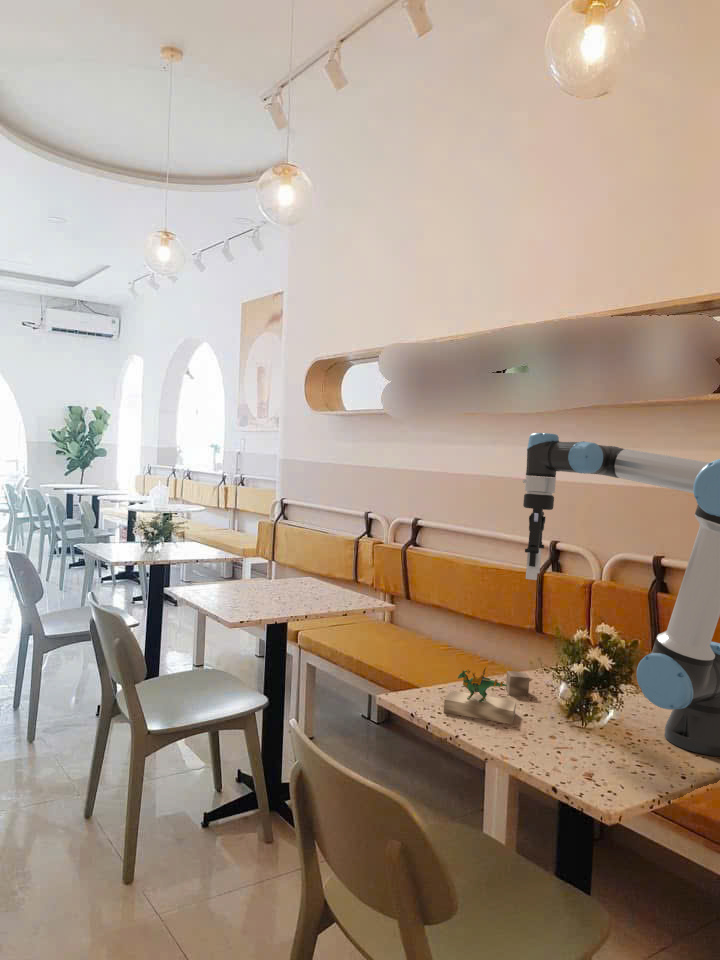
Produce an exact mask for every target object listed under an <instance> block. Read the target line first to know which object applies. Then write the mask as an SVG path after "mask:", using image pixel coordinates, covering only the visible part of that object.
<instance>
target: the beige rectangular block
mask: <svg viewBox="0 0 720 960" xmlns="http://www.w3.org/2000/svg"><path fill="white" fill-rule="evenodd" d="M470 694H471V692H464V691H458V690H453V689H452V690H449V691H448V694H447V695H446V696H445V698H444V701H443V702H444V703H443V713H447V714H450V715H457V716H463V717H468V718H475V719H481V720H487V721H492V722H499V723H503V724H508V725H513V723H514V719H515V716H516V710H517V709H516V707H517V700H512V699H506V698H501V697H496V696H494V697H493V696H489V695H487V696H486V697H485V699H486V700H485V699H484V701H485V702H483V701H482V702H479V700H481V698H482V697H483V696H482V695H480V694H475V693H474V694H473V695H472V697H471V698H470V699H467V698H469V697H468V696H470Z"/></svg>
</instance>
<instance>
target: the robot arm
mask: <svg viewBox="0 0 720 960" xmlns="http://www.w3.org/2000/svg"><path fill="white" fill-rule="evenodd" d="M559 439H560V437H559V435H558V434H556V433H549V432H548V433H544V432H533V433H531V434H529V438H528V443H527V448H526V469H525V470H526V471H525V479H523V480H522V483H523V484H524V491H525V492H526V493H524V495H523V506H522V507H523V508H525V509H532V512H531V514H530V515H529V516H528V523H529V524H528V531H529V533H528V534H529V535H528V544H527V548H524V553H527V555H526V556H527V557H526V570H525V580H532V581H537V580H538V574H540V573H541V572H540V571H541V561H542V560H541V559H542V558H541V557H542V549H545V544H543V531H544V530H545V524H546V516H544V515H545V513H544V510H546V511H551V510H553V509H554V505H555V504H554V502H555V497H554V495H553V494H554V493H556V482H557V472H564V473H565V472H566V473H576V474H585V475H586V474H587V475H589V474H590V475H599V476H606V477H611V478H615V479H623V480H628V481H632V482H636V483H642V484H647V485H652V486H658V487H661V488H664V489H665V488H666V489H670V490H676V491H681V492H686V493H689V494H693V497H694V498H695V500H696V503H697V506H696V509H695V513H694V517H695V519H696V520H697V522H698V524H699V527H698V531H697V534H696V537H695V539H694V542H693V546H692V549H691V552H690V556H689V558H688V561H687V566H686V568H685V572H684V575H683V578H682V581H681V583H680V587H679V590H678V593H677V597H676V600H675V603H674V607H673V609H672V613H671V616H670V619H669V622H668V625H667V629H666V630H665V631H663V632H661V633H658V634H657V635H656V637H655V640H654V645H653V648H652V651H651V653H648V654H647V655H645V656H644V657H643V658H642V659H640V661H639V662H638V665H637V667H636V681H637V684H638V687H639V688H640V689H641V693H642V695H643V696H644V697H645V698H646V699H647V700H648V701H649V702H650V703H652V704H653V705H654V706H657V707H658V708H660V709H664V710H671V712H670V714H669V717H668V719H667V721H666V723H665V727H664V738H665V739H666V740H667V741H668V742H669V743H671V744H672V745H675V746H677V747H679V748H680V749H681V748H682V749H683V750H686V751H690V752H693V753H696V754H697V753H698V754H701V755H706V756H707V755H708V756H713V757H720V642H716V641H712V639H713V637H714V635H715V632H716V628H717V624H718V622H719V618H720V458H717V459H715V460H713V461H711V462H709V461H702V460H697V459H691V458H686V457H678V456H671V455H665V454H660V453H653V452H648V451H640V450H635V449H629V448H623V447H622V448H621V447H618V446H613V445H603V444H597V443H595V442H590V441H560V440H559Z"/></svg>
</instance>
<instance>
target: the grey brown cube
mask: <svg viewBox="0 0 720 960" xmlns="http://www.w3.org/2000/svg"><path fill="white" fill-rule="evenodd" d="M530 679H531V678H530V677H529V675H528V674H527V672H526V671H514V670H513V671H512V670H507V671H506V680H505V684H506V685H507V686H505V691H506V693H507V694H508V696H515V697H516V696H517V697H529V691H530V690H529V689H530Z"/></svg>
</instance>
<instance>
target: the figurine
mask: <svg viewBox="0 0 720 960" xmlns="http://www.w3.org/2000/svg"><path fill="white" fill-rule="evenodd" d="M486 669H487V667H486V666H485V667H483V669H482V670H483V671H482V673H481V675H476V672H471V670H470V668H467V669H465V670H463V669H462V670H461V672H460V673H459V675H458V676H457V679H458V680H459V679H462V678H463V679H462V683H461V685H460V687H461V688H466V689H467V690H468V691H469V693H471V694H470V696H468V697H469V698H467V699H470V698H471V697H472V695H473V694H475V693H479V695H482V696H483V697H482V698H481V700H479V702H482V701H483V702H485V701H484V699H485V697H486V696H488V693H487V690H488V689H489V688H491V687H494V688H495V687H506V686H507V685H506V683H504V682H503V681H500V682H499V680H498V679H497V678H496V679H494V680H492V679H493V677H492V678H490V677H485V674H486ZM470 673H472V677H471V678H470V679H469V676H468V674H469V675H470ZM485 700H486V699H485Z"/></svg>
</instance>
